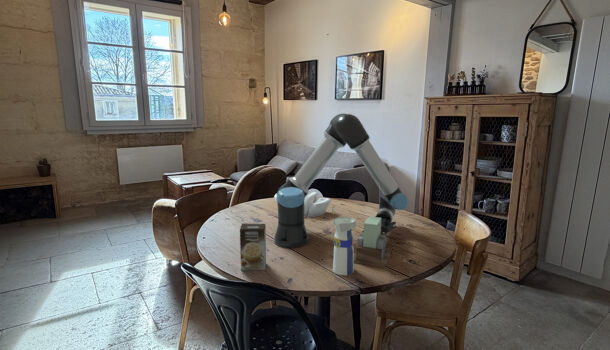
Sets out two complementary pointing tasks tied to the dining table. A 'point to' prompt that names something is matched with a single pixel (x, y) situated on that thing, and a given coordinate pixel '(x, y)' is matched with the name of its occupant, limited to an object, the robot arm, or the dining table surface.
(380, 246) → the band guide
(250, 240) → the food box
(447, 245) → the dining table surface
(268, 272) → the dining table surface
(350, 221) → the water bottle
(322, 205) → the wavy white extrusion
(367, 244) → the sage block
